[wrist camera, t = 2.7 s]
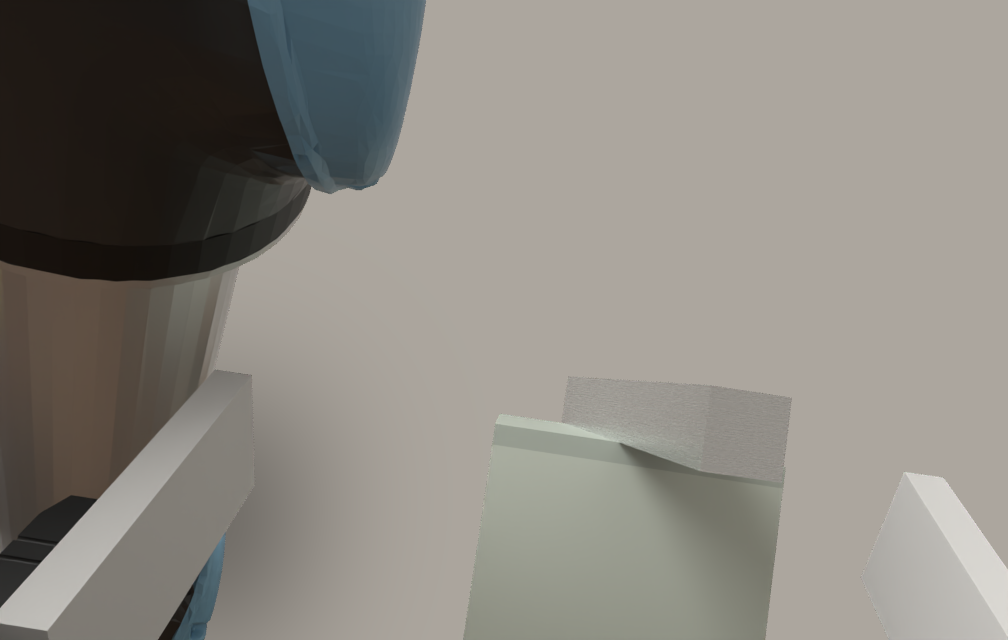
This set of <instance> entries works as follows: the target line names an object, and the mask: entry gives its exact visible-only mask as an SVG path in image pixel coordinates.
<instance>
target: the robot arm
mask: <svg viewBox="0 0 1008 640" xmlns="http://www.w3.org/2000/svg"><path fill="white" fill-rule="evenodd" d="M425 4H426V0H0V640H204V639H205V635H206V628H207V624H206V623H207V622H208V621H209V620H210V618H211V615H212V612H213V609H214V606H215V602H216V597H217V593H218V588H219V583H220V578H221V573H222V566H223V558H224V548H225V533H226V530H227V528H228V527H229V525H230V524H231V522H232V521H233V519H234V517H235V516H236V514H237V513H238V511H239V509H240V508H241V506H242V505H243V503H244V501H245V500H246V498H247V497H248V495H249V493H250V492H251V490H252V488H253V487H254V485H255V471H254V439H253V438H254V436H253V405H252V404H253V403H252V402H253V401H252V375H248V374H241V373H234V372H227V371H220V370H214V369H215V365H216V361H217V357H218V353H219V349H220V344H221V340H222V336H223V332H224V328H225V323H226V319H227V315H228V311H229V307H230V303H231V298H232V294H233V290H234V286H235V282H236V278H237V273H238V270H239V266H241V265H243V264H245V263H247V262H249V261H251V260H253V259H255V258H257V257H259V256H260V255H261V254H263V253H264V252H266V251H267V250H268V249H270V248H271V247H273V246H274V245H275V244H277V242H279V241H280V240H281V239H282V238H283V237H284V236H285V235H286V234H287V233H288V232H289V231H290V229H291V228H292V227H293V225H294V224H295V223H296V221H297V220H298V219H299V217H300V215H301V213H302V210H303V208H304V206H305V204H306V202H307V199H308V196H309V193H310V189H311V186H312V187H313V188H314V189H316V190H319V191H322V192H325V193H328V194H332V193H334V192H336V191H338V190H342V189H346V188H351V189H355V190H362V189H364V188H366V187H370V186H373V185H375V184H377V182H378V180H379V178H380V177H382V176H383V175H384V174H385V173H386V171H387V169H388V167H389V165H390V163H391V160H392V157H393V155H394V152H395V149H396V146H397V143H398V139H399V135H400V132H401V128H402V124H403V120H404V115H405V111H406V107H407V102H408V98H409V94H410V89H411V84H412V79H413V74H414V69H415V64H416V58H417V53H418V48H419V42H420V37H421V31H422V24H423V17H424V11H425ZM861 579H862V582H863V584H864V586H865V588H866V590H867V593H868V595H869V597H870V599H871V601H872V604H873V606H874V608H875V611H876V613H877V615H878V617H879V619H880V622H881V624H882V626H883V628H884V630H885V633H886V635H887V637H888V639H889V640H1008V569H1007V568H1006V567H1005V565H1004V564H1003V562H1002V561H1001V559H1000V558H999V557H998V555H997V554H996V552H995V551H994V549H993V548H992V547H991V545H990V544H989V542H988V541H987V539H986V538H985V537H984V535H983V534H982V532H981V531H980V529H979V528H978V526H977V525H976V524H975V522H974V521H973V520H972V518H971V516H970V515H969V514H968V512H967V511H966V509H965V508H964V506H963V505H962V503H961V502H960V501H959V500H958V498H957V496H956V495H955V493H954V492H953V491H952V489H951V488H950V486H949V485H948V483H947V482H946V480H945V479H944V478H942V477H936V476H929V475H922V474H915V473H909V472H904V474H903V476H902V479H901V481H900V483H899V486H898V488H897V491H896V493H895V496H894V498H893V500H892V503H891V505H890V508H889V510H888V513H887V515H886V517H885V520H884V522H883V525H882V527H881V530H880V532H879V535H878V537H877V539H876V542H875V545H874V547H873V549H872V552H871V554H870V556H869V559H868V561H867V564H866V566H865V569H864V571H863V573H862V576H861Z"/></svg>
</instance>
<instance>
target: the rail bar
mask: <svg viewBox="0 0 1008 640" xmlns="http://www.w3.org/2000/svg"><path fill="white" fill-rule="evenodd" d="M791 400H792V398H789V397H782V396H776V395H770V394H763V393H756V392H750V391H743V390H737V389H731V388H724V387H718V386H711V385H694V384H678V383H661V382H647V381H630V380H614V379H598V378H583V377H568V381H567V388H566V395H565V402H564V409H563V416H562V422H563V423H565V424H568V425H571V426H574V427H577V428H580V429H582V430H585V431H588V432H591V433H594V434H596V435H599V436H602V437H605V438H608V439H610V440H613V441H616V442H619V443H622V444H625V445H627V446H630V447H633V448H636V449H639V450H641V451H644V452H647V453H650V454H653V455H656V456H658V457H661V458H664V459H667V460H670V461H672V462H675V463H678V464H681V465H684V466H686V467H689V468H692V469H695V470H698V471H701V472H708V473H715V474H722V475H729V476H737V477H744V478H751V479H758V480H765V481H772V482H780V483H782V475H783V467H784V458H785V450H786V441H787V433H788V425H789V416H790V408H791Z"/></svg>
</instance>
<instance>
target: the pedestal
mask: <svg viewBox="0 0 1008 640" xmlns="http://www.w3.org/2000/svg"><path fill="white" fill-rule="evenodd" d="M784 475H785V467H783V475H782V483H780V482H772V481H765V480H758V479H751V478H744V477H737V476H729V475H722V474H715V473H708V472H701V471H698V470H695V469H692V468H689V467H686V466H684V465H681V464H678V463H675V462H672V461H670V460H667V459H664V458H661V457H658V456H656V455H653V454H650V453H647V452H644V451H641V450H639V449H636V448H633V447H630V446H627V445H625V444H622V443H619V442H616V441H613V440H610V439H608V438H605V437H602V436H599V435H596V434H594V433H591V432H588V431H585V430H582V429H580V428H577V427H574V426H571V425H568V424H564V423H558V422H551V421H544V420H537V419H531V418H524V417H517V416H511V415H504V414H500V415H499V417H498V419H497V421H496V424H495V430H494V437H493V443H492V450H491V457H490V464H489V471H488V477H487V484H486V491H485V498H484V504H483V511H482V517H481V524H480V531H479V538H478V545H477V551H476V558H475V564H474V571H473V578H472V585H471V591H470V598H469V605H468V611H467V618H466V625H465V632H464V638H463V640H765V636H766V626H767V618H768V610H769V602H770V593H771V585H772V576H773V567H774V560H775V552H776V543H777V535H778V526H779V517H780V508H781V501H782V493H783V484H784Z"/></svg>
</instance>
